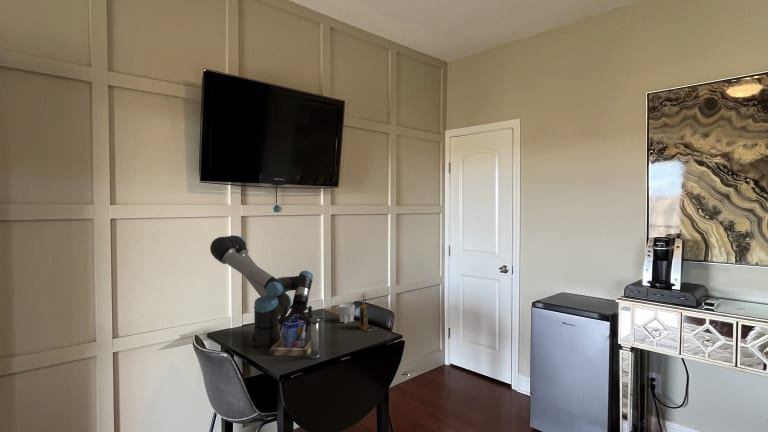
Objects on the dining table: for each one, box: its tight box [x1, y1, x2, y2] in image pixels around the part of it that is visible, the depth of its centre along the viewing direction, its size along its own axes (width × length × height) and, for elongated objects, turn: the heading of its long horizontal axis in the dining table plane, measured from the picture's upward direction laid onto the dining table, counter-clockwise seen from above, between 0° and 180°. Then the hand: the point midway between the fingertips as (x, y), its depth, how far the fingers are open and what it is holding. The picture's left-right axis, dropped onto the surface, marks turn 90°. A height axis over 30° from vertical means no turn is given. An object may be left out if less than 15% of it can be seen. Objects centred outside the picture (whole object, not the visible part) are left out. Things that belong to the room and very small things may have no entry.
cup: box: [337, 303, 356, 324], centre depth 253 cm, size 10×10×10 cm
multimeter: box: [359, 292, 378, 333], centre depth 237 cm, size 15×10×20 cm
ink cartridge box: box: [282, 317, 306, 348], centre depth 202 cm, size 10×6×14 cm, turn 134°
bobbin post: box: [308, 317, 321, 360], centre depth 191 cm, size 5×5×18 cm
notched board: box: [269, 338, 311, 357], centre depth 201 cm, size 18×16×3 cm
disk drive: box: [294, 312, 323, 322], centre depth 258 cm, size 10×3×15 cm
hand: (292, 337), depth 199 cm, fingers closed on ink cartridge box, 10 cm apart
